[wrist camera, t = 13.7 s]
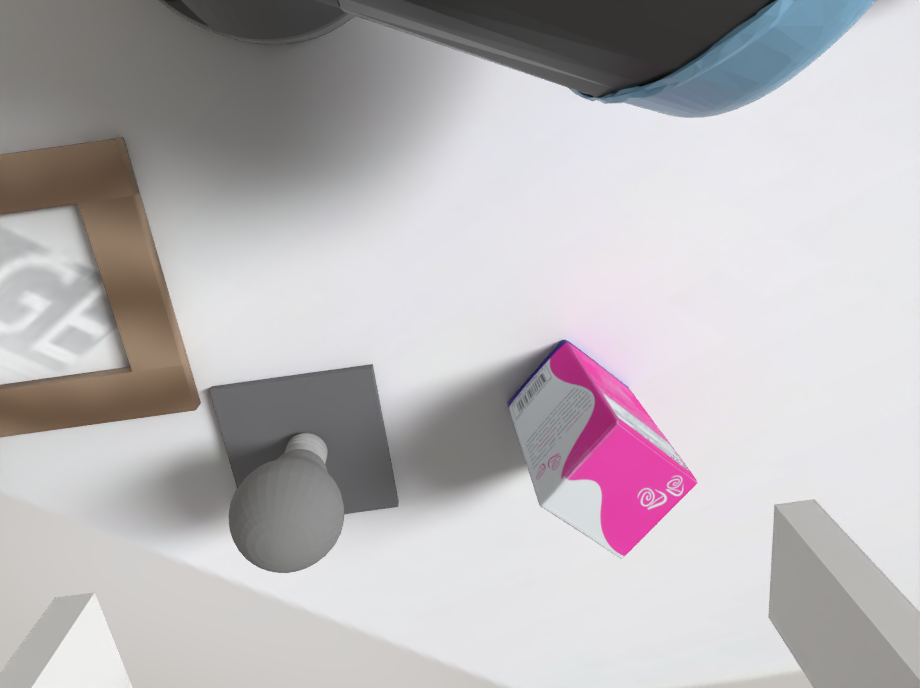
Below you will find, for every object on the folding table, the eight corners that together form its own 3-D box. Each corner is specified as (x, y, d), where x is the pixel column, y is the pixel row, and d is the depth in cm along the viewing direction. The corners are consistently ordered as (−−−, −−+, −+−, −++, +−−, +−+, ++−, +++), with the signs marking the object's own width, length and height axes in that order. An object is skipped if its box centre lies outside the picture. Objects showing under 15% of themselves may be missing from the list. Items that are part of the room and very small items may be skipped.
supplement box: (573, 452, 45) (620, 565, 34) (505, 403, 43) (531, 505, 32) (633, 388, 43) (702, 485, 32) (564, 335, 42) (613, 418, 31)
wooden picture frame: (-170, 178, 36) (-185, 180, 36) (123, 137, 36) (115, 138, 36) (-54, 438, 42) (-65, 446, 41) (200, 403, 42) (195, 410, 41)
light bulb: (359, 485, 44) (342, 595, 35) (266, 489, 44) (224, 601, 34) (351, 403, 42) (331, 497, 32) (253, 407, 41) (205, 503, 32)
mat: (212, 386, 42) (209, 390, 41) (372, 364, 42) (371, 368, 41) (250, 522, 45) (248, 527, 45) (398, 501, 45) (398, 506, 45)
